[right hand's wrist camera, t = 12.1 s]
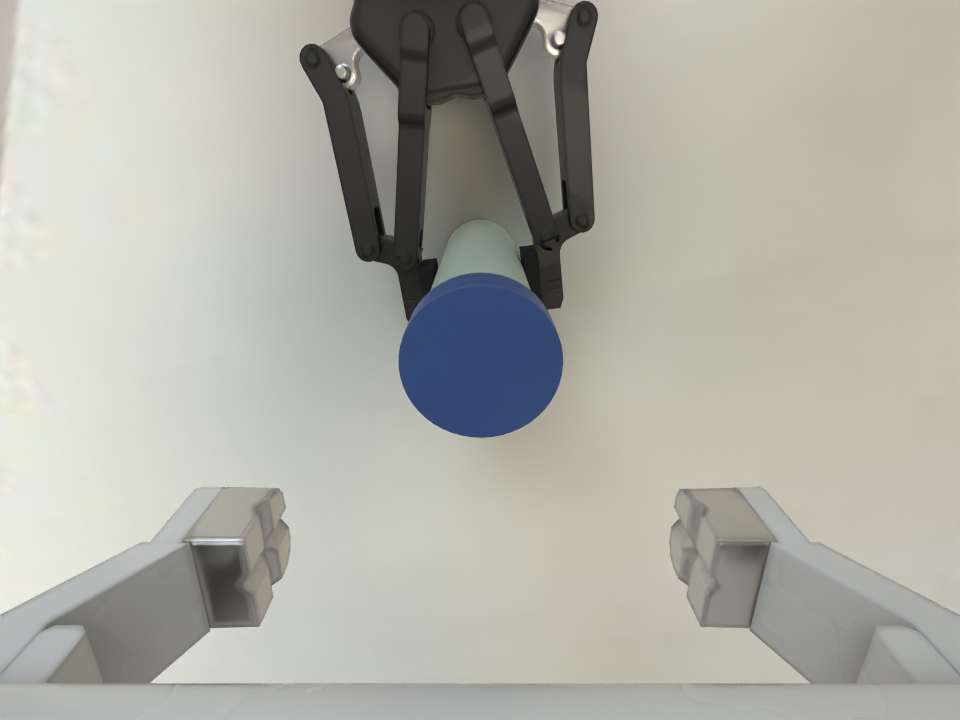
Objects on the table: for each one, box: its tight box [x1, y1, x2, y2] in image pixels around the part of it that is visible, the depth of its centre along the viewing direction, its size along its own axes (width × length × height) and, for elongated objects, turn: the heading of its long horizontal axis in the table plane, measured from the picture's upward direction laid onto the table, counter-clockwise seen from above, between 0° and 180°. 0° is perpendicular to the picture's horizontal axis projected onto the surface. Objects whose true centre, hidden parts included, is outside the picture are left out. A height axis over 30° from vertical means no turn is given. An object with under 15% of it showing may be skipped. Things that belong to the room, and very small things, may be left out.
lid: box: [399, 272, 563, 437], centre depth 18 cm, size 5×5×2 cm
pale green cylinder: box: [431, 219, 530, 290], centre depth 27 cm, size 5×5×19 cm
